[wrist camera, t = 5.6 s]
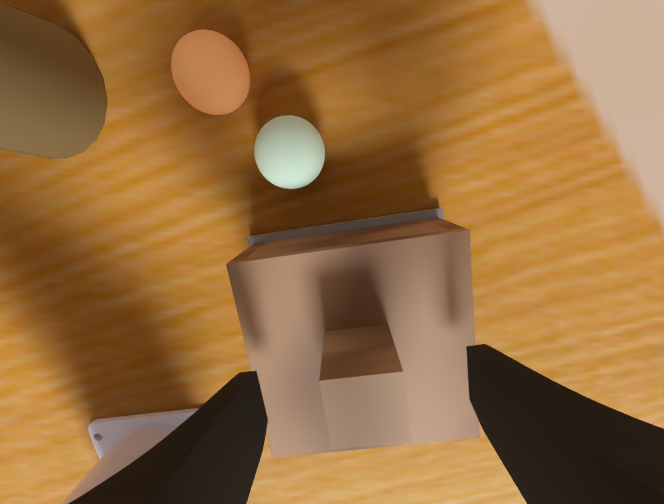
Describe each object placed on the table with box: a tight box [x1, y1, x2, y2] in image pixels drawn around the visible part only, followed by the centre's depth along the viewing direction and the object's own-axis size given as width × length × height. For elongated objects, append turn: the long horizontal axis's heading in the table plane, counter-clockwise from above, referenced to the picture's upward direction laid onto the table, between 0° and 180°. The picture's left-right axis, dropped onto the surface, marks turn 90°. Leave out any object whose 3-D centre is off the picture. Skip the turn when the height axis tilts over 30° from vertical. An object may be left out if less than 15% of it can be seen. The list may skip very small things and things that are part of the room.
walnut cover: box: [226, 217, 480, 458], centre depth 13 cm, size 9×9×7 cm
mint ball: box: [254, 115, 325, 189], centre depth 13 cm, size 3×3×3 cm
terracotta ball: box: [171, 29, 250, 115], centre depth 12 cm, size 3×3×3 cm
